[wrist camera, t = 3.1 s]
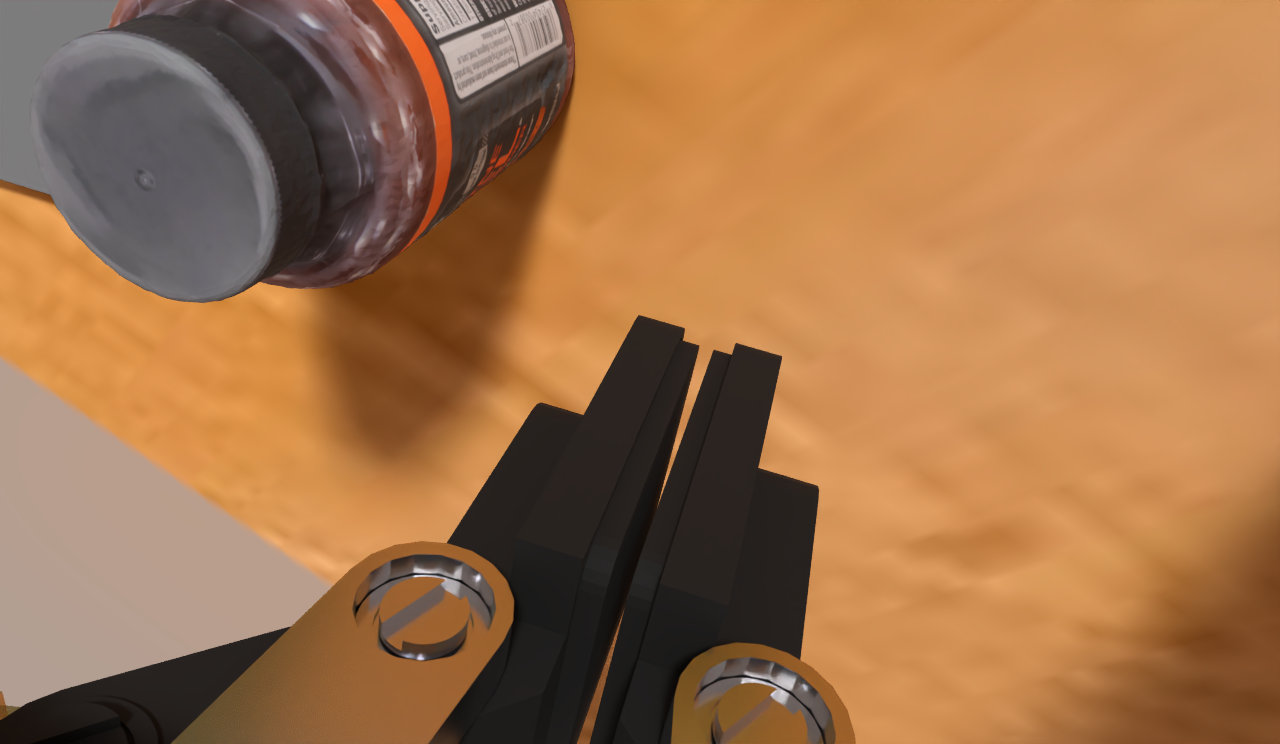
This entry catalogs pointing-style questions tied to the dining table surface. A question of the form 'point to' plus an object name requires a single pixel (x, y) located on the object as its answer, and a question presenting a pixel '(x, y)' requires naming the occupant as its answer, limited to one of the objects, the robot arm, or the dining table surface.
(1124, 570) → the dining table surface
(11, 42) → the mat
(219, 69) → the supplement bottle
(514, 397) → the dining table surface
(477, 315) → the dining table surface
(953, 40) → the dining table surface
